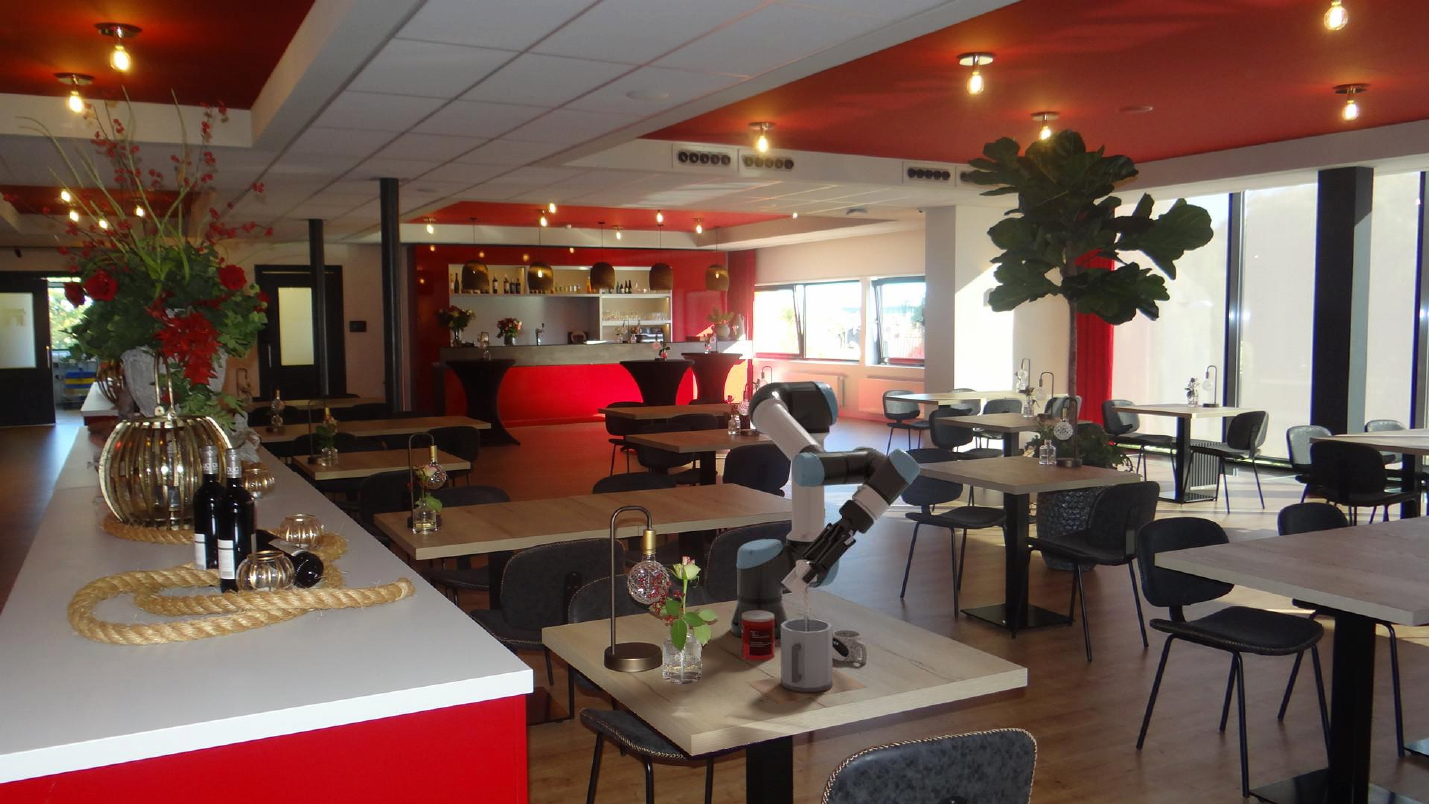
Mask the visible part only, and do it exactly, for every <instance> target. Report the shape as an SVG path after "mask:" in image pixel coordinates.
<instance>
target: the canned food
mask: <svg viewBox="0 0 1429 804" xmlns="http://www.w3.org/2000/svg"><path fill="white" fill-rule="evenodd" d="M741 656H742V658H743V659H746V660H748V661H749V660H750V661H756V662H759V661H761V662H762V661H763V662H764V661H768V660H769V661H770V660H772V659H774V658H775V638H774V614H773V613H771V612H768V611H761V610H754V611H747V612H744V613H743V614H742V638H741Z"/></svg>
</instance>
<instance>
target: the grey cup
mask: <svg viewBox="0 0 1429 804" xmlns="http://www.w3.org/2000/svg"><path fill="white" fill-rule="evenodd" d="M832 633H833V625H832V623H830V622H829V621H825V620H822V619H817V618H810V617H809V632H804V617H803V618H793V619H788V620H787V621H785V622H783V623H782V624H781V637H780V677H781V687H782V688H784V689H785V690H788V691H791V692H795V693H802V694H814V693H821V692H825V691H828V690H830V689H831V688H832V686H833V679H832V668H833V657H832Z"/></svg>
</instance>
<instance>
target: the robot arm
mask: <svg viewBox="0 0 1429 804" xmlns="http://www.w3.org/2000/svg"><path fill="white" fill-rule="evenodd" d="M747 414H748V418H749V421H750V422H751V424H752V426H753V427H754V428H755V429H756V430H757V431H758V432H759V433H761V434H764V435H766V436H768V438H769V439H770V440H771V441H772V442H773V443H774V445H776V446H777V448H778V449H779V450H780V451H781V452H782V453H783V454H784V456H786V457H787V458H788V460H789V461H791V462H790V463H791V465H790V467H791V471H790V472H791V531H789V532H788V533H787V535H786V537H785V539H786V540H785V543H786V544H783V543H782V541H781V540H779V539H775V538H769V539H766V538H762V539H757V540H752V541H749V542H747V543H744V544H742V545H741V546H740V547H739V548H738V550H737V558H736V559H737V560H736V565H735V566H736V572H737V573H736V574H737V578H736V579H737V580H736V583H737V585H736V586H737V588H736V589H737V593H736V595H737V597H736V598H737V602H736V606H735V608H734V611H733V615H732V619H731V621H730V633H731V634H732V635H734V636H735V635H736V637H738V638H741V639H742V614H743V613H744V612H747V611H754V610H761V611H768V612H771V613H773V614H774V639H779V638H781V624H782V623H783V622H785V621H787V620H789V619H788V617H787V613H786V610H785V607H784V603H783V591H786V590H788V591H790V592H791V593H792V594H794V595H795V597H796V598H798V597H799V596H800V595H801V594H802V593H803V592H804V589H805V588H806V587H807V586H808V585H809V589H810V588H813V589H816V588H817V589H818V588H819V587H820V588H821V587H825V586H829V585H831V584H832V583H833V582H834V580H835V579H836V577H837V575H838V573H839V570H840V569H839V568H840V559H841V557H842V556H843V555H844V554H845V553H846V552H847V551H848V550H849V549H850V548H851V547H853V545H855V544H856V543H857V539H856V538H854V536H856V533H857V532H859V533H860V534H863V535H864V534H867V532H868V531H869V530H870V529H871V527H873V525H874V524H875V521H878V520H880V518H881V517H882V516H883V515H884V514H885V513H886V511H888V510H889V508H890V506H891V505H893V504H894V502H895V501H896V500H897V499H898V498H899V497H900V496H902V494H903V493H904V492H905V491H906V490H907V489H908V488H909V487H910V485H912V484H913V482H914V480H915V479H916V478H917V477H918V476H919V474H920V473H921V466H920V464H919V463H918V461H916V459H914V457H912V456H911V454H909V453H908V452H906V451H905V450H904V449H902V448H895V449H894V450H893V451H891V452H889V454H888V455H886V454H884V453H883V452H880V451H879V450H877V449H876V448H873V447H868V446H862V445H861V446H858V447H856V448H854V449H852V450H847V451H846V450H845V451H841V450H840V451H839V450H838V451H827V450H826V449H825V439H826V438H827V436H829V435H830V431H831V430H830V429H831V428H830V427H832V426H834V425H835V424H836V423H837V421H838V417H839V404H838V399H837V396H836V393H835V391H834V390H833V388H832V387H831V385H829V384H828V383H827V382H824V381H817V380H816V381H813V380H809V381H808V380H807V381H784V382H783V381H782V382H780V381H777V382H776V381H774V382H770V383H766V384H764V385H762V386H761V387H759V388H758V389H757V390H755V392H754V393H753V394H752V396H751V398H750V400H749V401H748V405H747ZM843 485H844V486H846V485H847V486H849V485H858V486H857V487H856V489H857V490H856V491H855V492H854V493H853V494H852V495H851V499H847V500H846V501H845V502H844V503H843V504H842V506H841V507H840V508H839V509H838V513H839V514H840V516H841V518H840V519H839V520H837V521H836V522H834V523H833V524H832V523H831V522H828V523H827V524H826V526H825V523H826V522H825V521H826V520H825V519H826V518H825V487H826V486H827V487H828V486H843ZM798 560H814V562H813V563H812V562H809V565H810V566H811V567H812V568H811V567H810V566H809V565H808V566H807V567H806V568H805V570H804V571H803V572H802V573H801V574H800V575H799V576H798V577H797V578H796V561H798ZM816 576H817V581H815V582H812V581H813V580H814V578H815V577H816Z"/></svg>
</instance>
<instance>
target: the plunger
mask: <svg viewBox="0 0 1429 804" xmlns="http://www.w3.org/2000/svg"><path fill="white" fill-rule="evenodd" d="M809 562H812V563H813V562H814V560H798V561H796V578H797V577H798V576H799V575H800V574H801V573H802V572H803V571H804V570H805V568H806V567H807V566H808V565H809ZM809 566H810V565H809ZM810 567H811V566H810ZM811 568H812V567H811ZM815 581H817V576H816V577H815V578H814V580H813V581H812V582H815ZM809 589H810V588H809V585H808V586H807V587H806V588H805V589H804V590H803V618H804V632H809V618H810V617H809V616H810V615H809V614H810V613H809V612H810V607H809V606H810V603H809V601H810V598H809V597H810V592H809V591H810V590H809Z"/></svg>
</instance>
